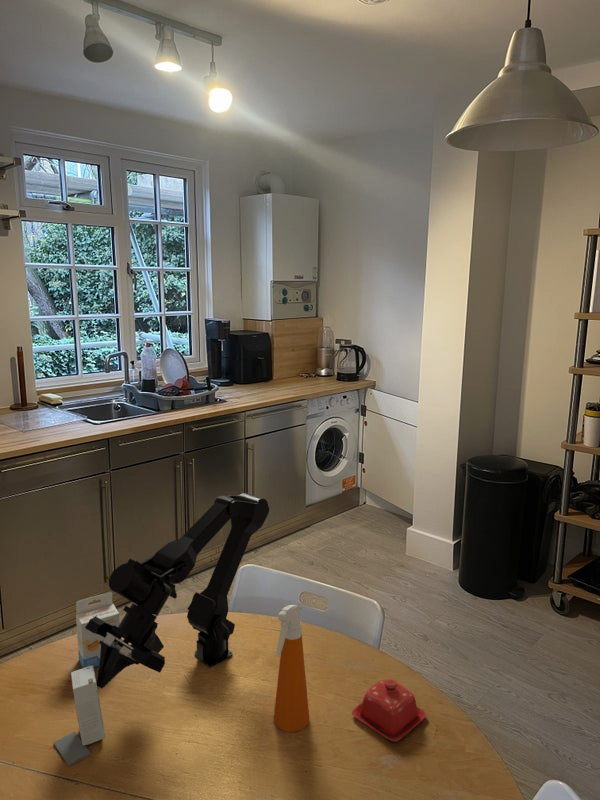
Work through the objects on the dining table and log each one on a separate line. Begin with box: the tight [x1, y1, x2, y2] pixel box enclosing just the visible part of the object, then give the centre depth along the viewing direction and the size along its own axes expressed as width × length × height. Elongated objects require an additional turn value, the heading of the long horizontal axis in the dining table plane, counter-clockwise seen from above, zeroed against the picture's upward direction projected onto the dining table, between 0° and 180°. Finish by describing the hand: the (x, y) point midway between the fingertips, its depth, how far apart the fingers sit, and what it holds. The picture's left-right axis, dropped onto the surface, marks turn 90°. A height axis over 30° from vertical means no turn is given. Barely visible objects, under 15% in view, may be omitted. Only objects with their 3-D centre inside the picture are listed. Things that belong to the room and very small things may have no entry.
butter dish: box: [351, 678, 427, 743], centre depth 119 cm, size 12×12×8 cm
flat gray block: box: [53, 731, 91, 767], centre depth 110 cm, size 4×7×1 cm, turn 43°
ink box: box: [75, 591, 121, 668], centre depth 135 cm, size 8×5×15 cm, turn 123°
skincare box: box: [70, 665, 106, 746], centre depth 113 cm, size 6×4×12 cm
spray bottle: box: [273, 604, 310, 733], centre depth 114 cm, size 7×11×26 cm, turn 158°
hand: (99, 687), depth 113 cm, fingers closed
